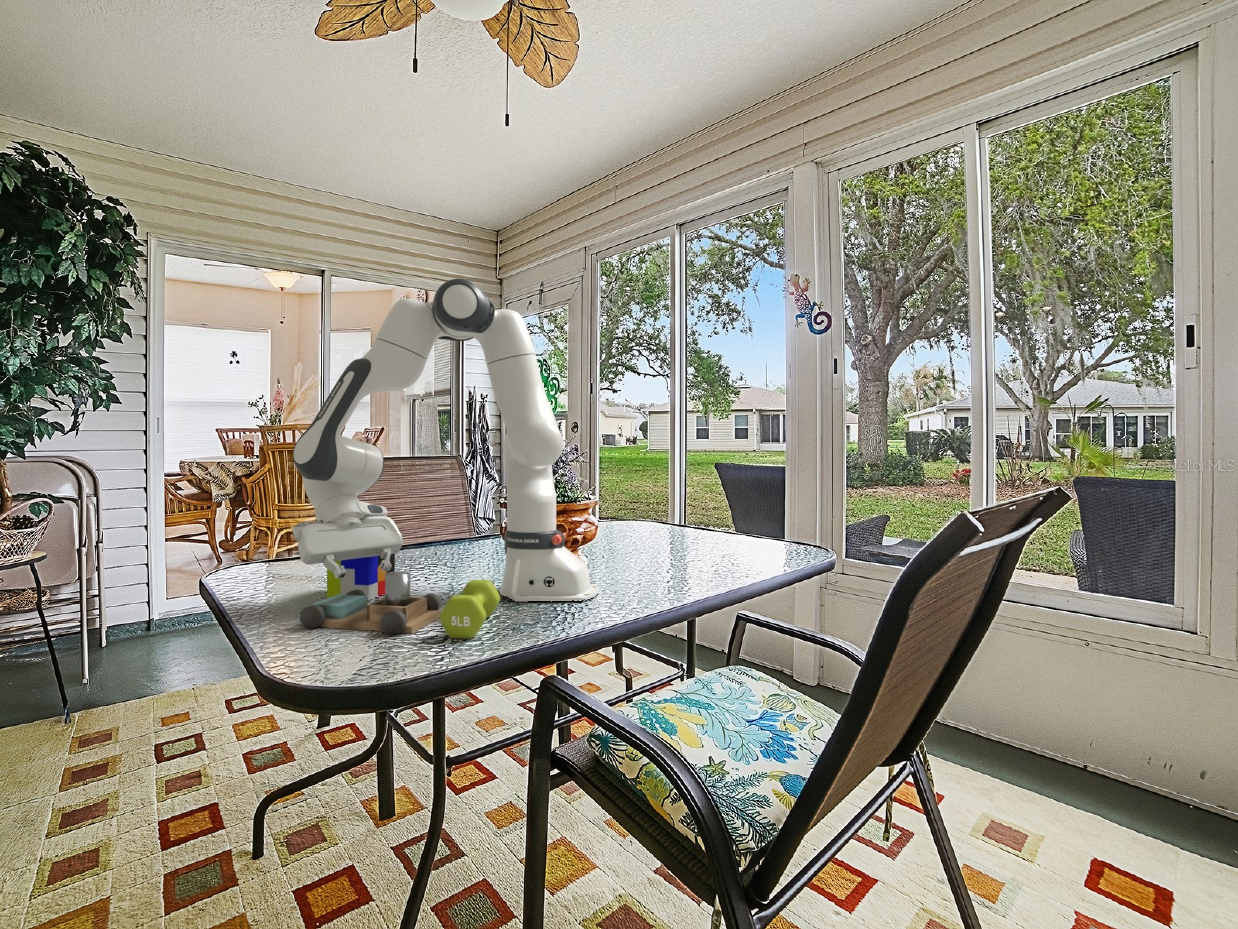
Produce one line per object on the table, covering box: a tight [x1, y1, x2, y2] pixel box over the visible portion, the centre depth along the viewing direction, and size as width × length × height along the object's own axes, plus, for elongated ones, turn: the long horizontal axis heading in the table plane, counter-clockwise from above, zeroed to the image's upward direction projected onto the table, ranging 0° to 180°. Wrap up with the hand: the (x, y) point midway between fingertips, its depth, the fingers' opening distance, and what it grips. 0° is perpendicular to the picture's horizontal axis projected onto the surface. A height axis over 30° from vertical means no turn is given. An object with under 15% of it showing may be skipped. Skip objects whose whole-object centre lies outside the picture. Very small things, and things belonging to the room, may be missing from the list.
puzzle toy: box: [326, 553, 396, 601], centre depth 137 cm, size 10×10×10 cm
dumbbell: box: [439, 579, 501, 640], centre depth 113 cm, size 16×8×7 cm, turn 0°
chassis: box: [299, 589, 442, 636], centre depth 116 cm, size 22×14×4 cm, turn 79°
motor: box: [384, 570, 411, 607], centre depth 115 cm, size 5×5×8 cm
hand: (365, 572), depth 123 cm, fingers open, 8 cm apart
